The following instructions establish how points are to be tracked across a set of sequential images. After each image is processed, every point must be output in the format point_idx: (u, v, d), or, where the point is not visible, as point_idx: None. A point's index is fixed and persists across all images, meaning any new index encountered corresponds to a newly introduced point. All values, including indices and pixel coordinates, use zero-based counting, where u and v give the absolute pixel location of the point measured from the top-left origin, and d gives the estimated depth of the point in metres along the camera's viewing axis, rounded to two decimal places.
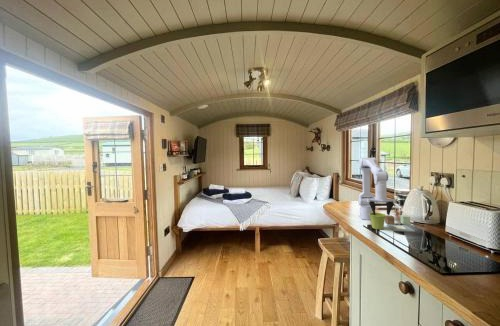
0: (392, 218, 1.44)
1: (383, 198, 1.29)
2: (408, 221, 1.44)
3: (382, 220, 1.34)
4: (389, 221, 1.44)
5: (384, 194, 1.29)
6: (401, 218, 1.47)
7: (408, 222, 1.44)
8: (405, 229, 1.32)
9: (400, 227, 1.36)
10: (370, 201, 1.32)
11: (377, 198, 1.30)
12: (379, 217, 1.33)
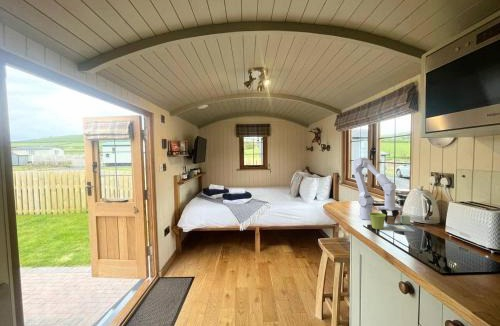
0: (392, 218, 1.44)
1: (392, 207, 1.43)
2: (408, 221, 1.44)
3: (382, 220, 1.34)
4: (389, 221, 1.44)
5: (393, 203, 1.43)
6: (401, 218, 1.47)
7: (408, 222, 1.44)
8: (405, 229, 1.32)
9: (400, 227, 1.36)
10: (380, 209, 1.47)
11: (386, 207, 1.45)
12: (379, 217, 1.33)
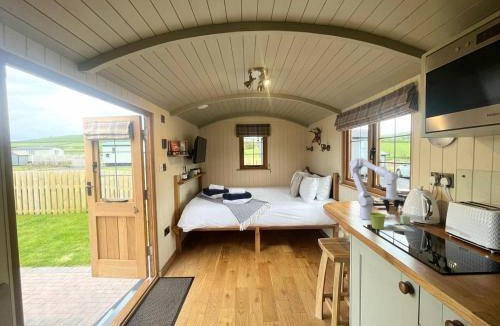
0: (394, 208, 1.42)
1: (394, 196, 1.41)
2: (408, 221, 1.44)
3: (382, 220, 1.34)
4: (391, 211, 1.42)
5: (394, 193, 1.41)
6: (401, 218, 1.47)
7: (408, 222, 1.44)
8: (405, 229, 1.32)
9: (400, 227, 1.36)
10: (381, 199, 1.45)
11: (388, 196, 1.43)
12: (379, 217, 1.33)
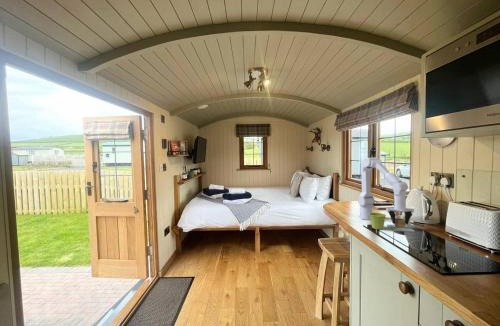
0: (403, 221, 1.34)
1: (402, 208, 1.33)
2: None
3: (382, 220, 1.34)
4: (399, 225, 1.34)
5: (403, 204, 1.33)
6: None
7: (408, 222, 1.44)
8: (405, 229, 1.32)
9: None
10: (389, 211, 1.37)
11: (396, 208, 1.35)
12: (379, 217, 1.33)
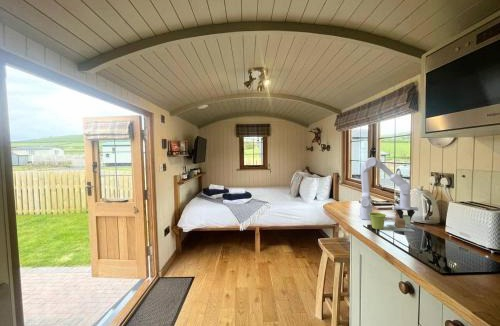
0: (403, 221, 1.34)
1: (407, 206, 1.43)
2: (408, 221, 1.44)
3: (382, 220, 1.34)
4: (399, 225, 1.34)
5: (408, 203, 1.43)
6: None
7: (408, 222, 1.44)
8: (405, 229, 1.32)
9: None
10: (395, 209, 1.47)
11: (402, 206, 1.45)
12: (379, 217, 1.33)
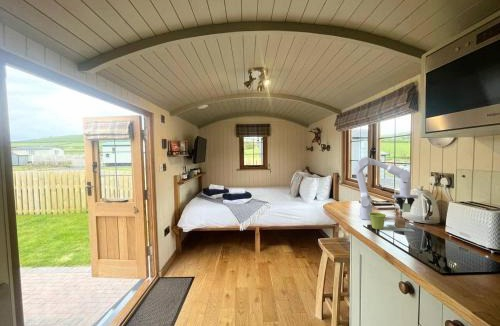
0: (403, 221, 1.34)
1: (407, 194, 1.43)
2: (408, 209, 1.44)
3: (382, 220, 1.34)
4: (399, 225, 1.34)
5: (408, 191, 1.43)
6: None
7: (408, 210, 1.44)
8: (405, 229, 1.32)
9: None
10: (395, 197, 1.47)
11: (402, 194, 1.45)
12: (379, 217, 1.33)
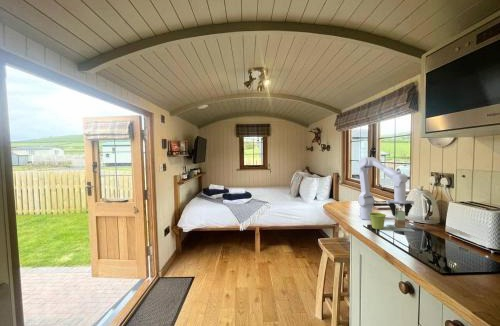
0: (403, 221, 1.34)
1: (402, 200, 1.33)
2: (403, 217, 1.34)
3: (382, 220, 1.34)
4: (399, 225, 1.34)
5: (403, 196, 1.33)
6: (395, 214, 1.37)
7: (403, 218, 1.34)
8: (405, 229, 1.32)
9: None
10: (389, 203, 1.36)
11: (396, 200, 1.35)
12: (379, 217, 1.33)
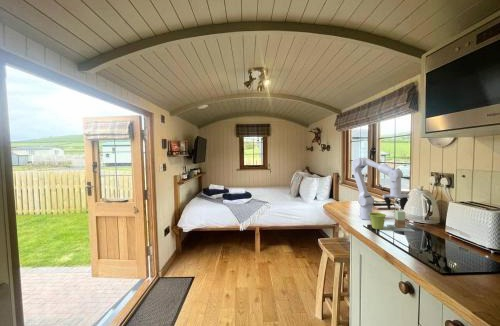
0: (403, 221, 1.34)
1: (398, 194, 1.39)
2: (403, 217, 1.34)
3: (382, 220, 1.34)
4: (399, 225, 1.34)
5: (399, 190, 1.39)
6: (395, 214, 1.37)
7: (403, 218, 1.34)
8: (405, 229, 1.32)
9: None
10: (385, 197, 1.42)
11: (392, 194, 1.40)
12: (379, 217, 1.33)
